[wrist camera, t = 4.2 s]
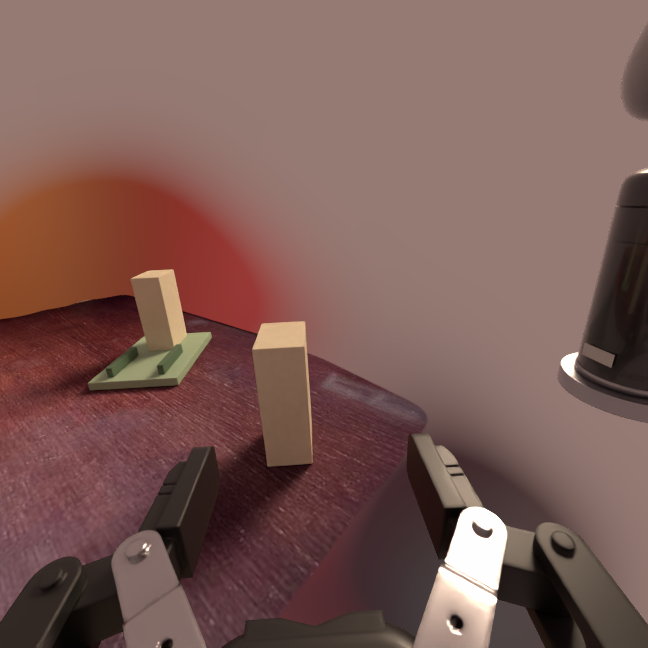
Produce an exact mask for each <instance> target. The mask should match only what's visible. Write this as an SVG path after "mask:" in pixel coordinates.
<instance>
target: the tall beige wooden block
mask: <svg viewBox="0 0 648 648" xmlns="http://www.w3.org/2000/svg"><path fill="white" fill-rule="evenodd" d="M306 345H307V344H306V329H305V322H304V321H302V322H285V323H267V324H262V325H261V328H260V330H259V333H258V336H257V338H256V341H255V344H254V346H253V349H252V352H253V360H254V367H255V375H256V383H257V390H258V398H259V406H260V413H261V421H262V429H263V436H264V444H265V452H266V459H267V466H268V467H271V466H286V465H300V464H312V463H313V460H312V420H311V405H310V390H309V375H308V359H307V346H306Z"/></svg>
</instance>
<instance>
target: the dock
mask: <svg viewBox="0 0 648 648" xmlns="http://www.w3.org/2000/svg"><path fill="white" fill-rule="evenodd" d="M131 283H132V287H133V291H134V295H135V299H136V303H137V307H138V311H139V315H140V319H141V323H142V327H143V331H144V335H145V336H144V337H143V338H142V339H140V340H139V341H138V342H137V343H135V344H134V345H133V346H132V347H131V348H129V349H128V350H127V351H126V352H125V353H123V354H122V355H121V356H120V357H119V358H117V359H116V360H115V361H114V362H113V363H111V364H110V365H109V366H108V367H106V368H105V369H104V370H103V371H102V372H100V373H99V374H98V375H97V376H96V377H94V378H93V379H92V380H91V381H90V382H88V387H89V390H90V391H92V390H108V389H125V388H141V387H157V386H174V385H179V384H180V382H181V381H182V380H183V378H184V377H185V375H186V374H187V372H188V371H189V370H190V368H191V367H192V365H193V364H194V362H195V361H196V360H197V358H198V357H199V355H200V354H201V352H202V351H203V350H204V348H205V347H206V345H207V344H208V342H209V341H210V340H211V338H212V337H211V332H204V333H186V328H185V324H184V319H183V314H182V309H181V304H180V299H179V294H178V290H177V284H176V279H175V275H174V270H156V271H147V272H145V273H142V274H140V275H138V276H135V277H133V278H131Z"/></svg>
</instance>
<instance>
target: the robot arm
mask: <svg viewBox="0 0 648 648" xmlns="http://www.w3.org/2000/svg"><path fill="white" fill-rule="evenodd" d="M621 99H622V103H623V106H624V108H625V110H626V112H627V113H628V114H629V115H631V116H632V117H633V118H636V119H638V120H642V121H648V22H647V23H646V25H645V26H644V28H643V30H642V31H641V33H640V35H639V37H638V39H637V40H636V42H635V44H634V47H633V49H632V51H631V53H630V55H629V58H628V61H627V63H626V67H625V69H624V73H623V77H622V82H621ZM616 205H617V206H616V207H615V210H614V214H613V218H612V222H611V226H610V231H609V234H608V239H607V243H606V247H605V251H604V254H603V259H602V262H601V266H600V270H599V274H598V278H597V282H596V286H595V290H594V294H593V298H592V302H591V306H590V310H589V314H588V318H587V322H586V326H585V330H584V333H583V337H582V341H581V345H580V349H579V353H578V355H577V357H576V360H575V364H574V366H575V368H576V370H577V371H578V372H579V373H580V374H581V375H582V376H584V377H585V378H587V379H589V380H590V381H592V382H594V383H596V384H599V385H601V386H603V387H606V388H608V389H611V390H614V391H617V392H621V393H624V394H628V395H632V396H637V397H642V398H648V168H646V169H643V170H640V171H637V172H634V173H633V174H630V175H629V176H627V177H626V178H625V180H624V181H623V183H622V184H621V187H620V190H619V194H618V198H617V202H616ZM407 472H408V477H409V480H410V483H411V486H412V489H413V491H414V494H415V497H416V499H417V502H418V505H419V507H420V510H421V513H422V515H423V518H424V521H425V524H426V526H427V529H428V531H429V534H430V537H431V540H432V542H433V545H434V548H435V551H436V553H437V556H438V558H439V559H445V562H444V563H442V564H441V566H440V568H439V571H438V574H437V577H436V580H435V584H434V586H433V589H432V592H431V595H430V598H429V601H428V603H427V606H426V609H425V612H424V615H423V618H422V621H421V624H420V627H419V630H418V633H417V636H416V638H415V637H414V636H412V635H411V634H409V633H408V632H407V631H405V630H403V629H401V628H400V627H397V626H395V625H392V624H389V623H386V622H384V617H383V611H382V610H372V611H359V612H349V613H346V614H344V615H341V616H339V617H336V618H334V619H331V620H329V621H326V622H324V623H322V624H319V625H316V626H312V625H307V624H303V623H299V622H295V621H290V620H286V619H282V618H273V619H260V620H248V621H246V624H245V631H244V634H243V635H241V636H238V637H237V638H235V639H233V640H231V641H230V642H228V643H227V644H226V645H224V646H223V647H222V648H488V647H489V641H490V635H491V629H492V623H493V617H494V612H495V606H496V600H497V599H498V600H502V601H506V602H509V603H513V604H516V605H520V606H524V607H526V609H527V611H528V613H529V615H530V617H531V619H532V621H533V623H534V625H535V628H536V630H537V632H538V634H539V636H540V638H541V640H542V642H543V644H544V646H545V648H648V624H647V623H646V622H645V621H644V619H643V618H642V617H641V615H640V614H639V613H638V611H637V610H636V609H635V607H634V606H633V605H632V603H631V602H630V601H629V599H628V598H627V597H626V595H625V594H624V593H623V591H622V590H621V589H620V588H619V586H618V585H617V584H616V582H615V581H614V580H613V578H612V577H611V576H610V574H609V573H608V572H607V571H606V569H605V568H604V567H603V565H602V564H601V562H600V561H599V560H598V559H597V557H596V556H595V555H594V554H593V552H592V551H591V549H590V548H589V547H588V545H587V544H586V543H585V542H584V540H583V539H582V538H581V537H580V536H579V535H577V534H576V533H575V532H573V531H572V530H570V529H568V528H567V527H564V526H562V525H559V524H556V523H543V524H540V525H539V526H538V527H537V529H536V531H535V532H530V531H525V530H521V529H516V528H512V527H509V526H506V525H504V524H503V522H502V521H501V520H500V519H499V518H498V517H497V516H496V515H495V514H493V513H492V512H490V511H488V510H486V509H485V508H484V507H483V505H482V503H481V502H480V500H479V498H478V496H477V495H476V493H475V491H474V489H473V488H472V486H471V484H470V483H469V481H468V479H467V477H466V476H465V475H464V472H463V471H462V469H461V467H459V464H458V462H457V461H456V459H455V457H454V455H453V454H452V453H451V452H450V451H449V450H447V449H446V448H445V447H444V446H443V445H441V446H435V445H434V443H433V441H432V439H431V437H430V436H429V434H428V433H422V434H410V435H409V437H408V451H407ZM219 487H220V475H219V469H218V464H217V459H216V454H215V449H214V447H213V446H209V447H195V448H193V449H192V451H191V453H190V455H189V458H188V460H187V461H185V462H179V463H178V464H177V465H176V466H175V467H174V468H173V469H172V470H171V471H170V472H169V473H168V475H167V477H166V479H165V481H164V483H163V486H162V487H161V489H160V491H159V493H158V496H156V498H155V500H154V502H153V504H152V506H151V508H150V510H149V512H148V514H147V516H146V518H145V520H144V522H143V524H142V526H141V527H140V529H139V531H138V533H136V534H134V535H132V536H130V537H129V538H127V539H126V540H125V541H124V542H123V543H121V545H120V546H119V547H118V548H117V550H116V551H115V553H114V554H113V555H110V556H108V557H105V558H103V559H100V560H97V561H94V562H92V563H89V564H86V565H83V566H82V564H81V562H80V560H79V559H78V558H76V557H63V558H60V559H57V560H55V561H53V562H51V563H49V564H48V565H46V566H45V567H43V568H42V569H41V570H39V571H38V572H37V573H36V574H35V575H34V576H33V577H32V578H31V579H30V580H29V582H28V583H27V584H26V586H25V587H24V589H23V590H22V591H21V593H20V594H19V596H18V597H17V599H16V600H15V602H14V603H13V605H12V606H11V607H10V609H9V610H8V612H7V613H6V615H5V616H4V618H3V619H2V621H1V622H0V648H98V647H99V645H100V643H101V641H102V640H104V639H106V638H109V637H111V636H113V635H115V634H118V633H120V632H122V631H124V636H125V641H126V645H127V648H207V647H206V645H205V642H204V640H203V637H202V635H201V632H200V630H199V627H198V625H197V622H196V620H195V617H194V615H193V612H192V610H191V607H190V605H189V602H188V600H187V597H186V595H185V592H184V590H183V587H182V585H181V583H180V580H181V578H188V577H193V573H194V570H195V567H196V564H197V560H198V557H199V554H200V551H201V547H202V544H203V541H204V538H205V534H206V531H207V528H208V525H209V521H210V518H211V515H212V512H213V508H214V505H215V502H216V499H217V495H218V492H219Z"/></svg>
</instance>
